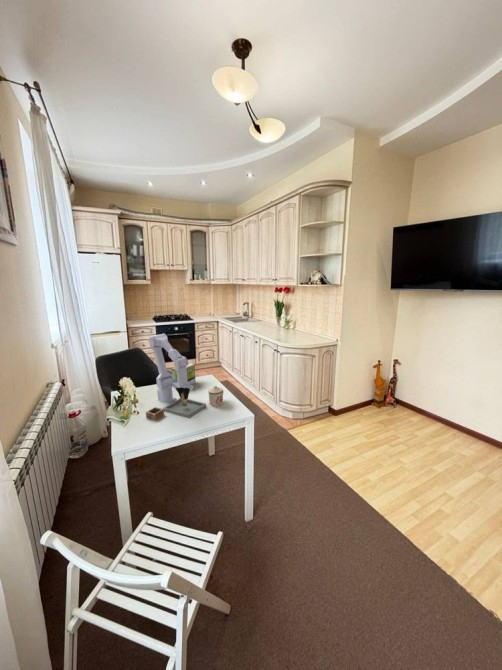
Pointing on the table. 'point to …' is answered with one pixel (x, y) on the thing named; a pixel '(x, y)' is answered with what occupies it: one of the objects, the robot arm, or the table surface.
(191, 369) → the tea box
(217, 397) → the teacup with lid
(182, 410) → the tray
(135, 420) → the table surface
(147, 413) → the wooden roll holder
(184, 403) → the dowel
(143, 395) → the table surface
